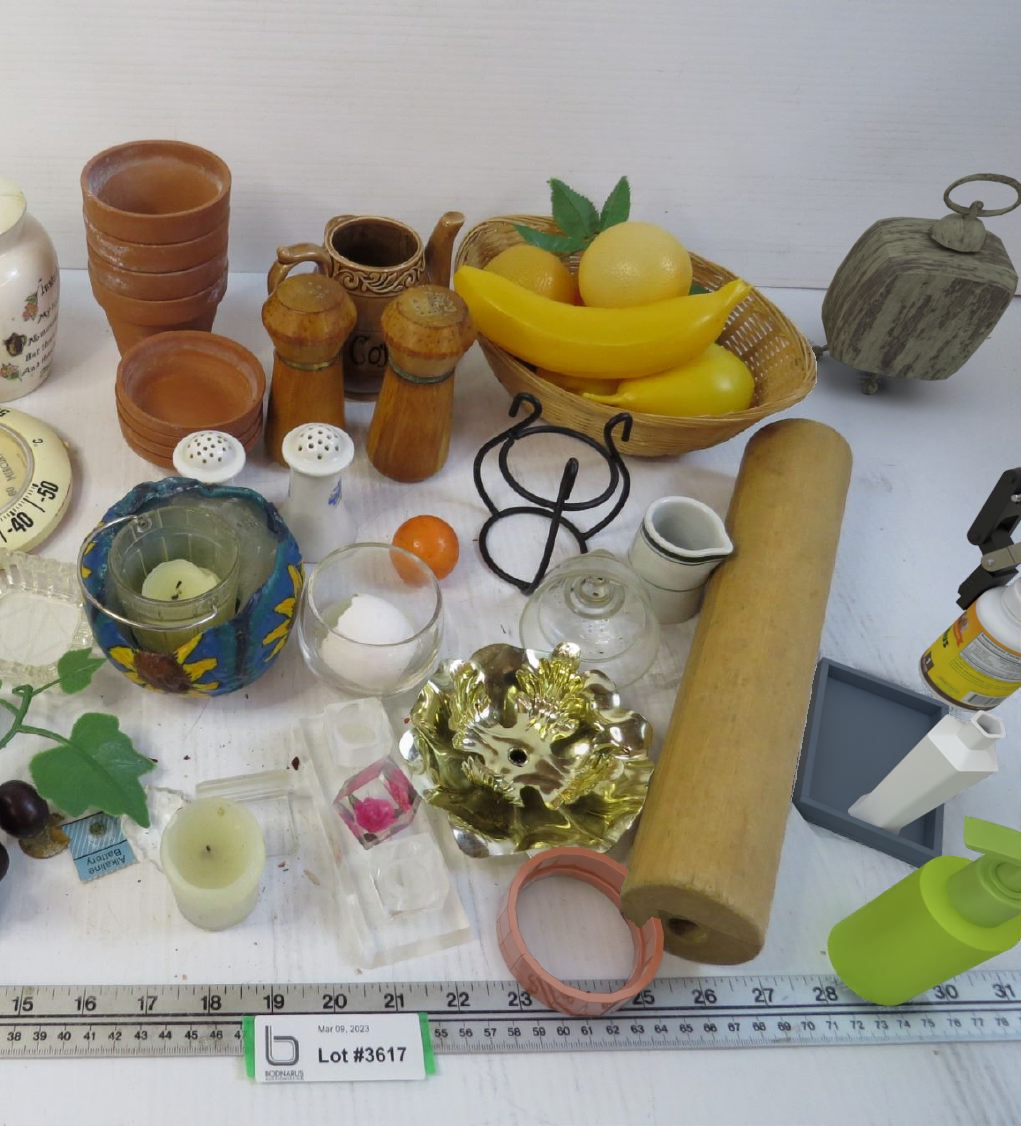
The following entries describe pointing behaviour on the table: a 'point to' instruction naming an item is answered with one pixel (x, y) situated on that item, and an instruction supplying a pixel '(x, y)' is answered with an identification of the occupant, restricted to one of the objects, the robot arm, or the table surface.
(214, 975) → the table surface
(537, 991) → the faceted terracotta bangle
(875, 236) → the tabletop clock
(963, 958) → the soap dispenser
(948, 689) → the supplement bottle
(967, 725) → the perfume bottle
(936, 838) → the tray
